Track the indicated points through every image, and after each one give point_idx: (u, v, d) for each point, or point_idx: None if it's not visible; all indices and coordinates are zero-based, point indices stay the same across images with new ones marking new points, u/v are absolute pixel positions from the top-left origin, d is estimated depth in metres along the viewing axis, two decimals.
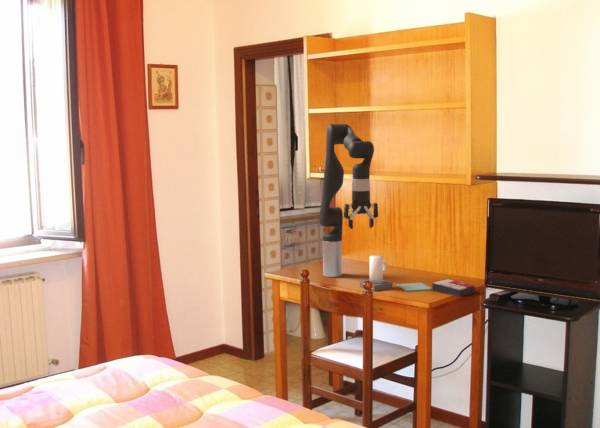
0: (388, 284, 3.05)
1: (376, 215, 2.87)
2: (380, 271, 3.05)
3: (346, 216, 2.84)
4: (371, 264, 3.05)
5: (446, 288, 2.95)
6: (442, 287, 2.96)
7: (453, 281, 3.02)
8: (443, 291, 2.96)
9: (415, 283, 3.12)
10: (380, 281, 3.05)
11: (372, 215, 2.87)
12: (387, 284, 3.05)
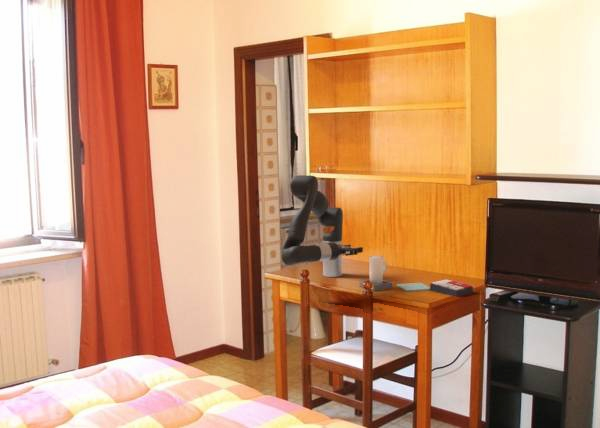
0: (388, 284, 3.05)
1: None
2: (380, 271, 3.05)
3: None
4: (371, 264, 3.05)
5: (443, 288, 2.95)
6: (439, 287, 2.96)
7: (451, 281, 3.02)
8: (440, 291, 2.96)
9: (415, 283, 3.12)
10: (380, 281, 3.05)
11: None
12: (387, 284, 3.05)
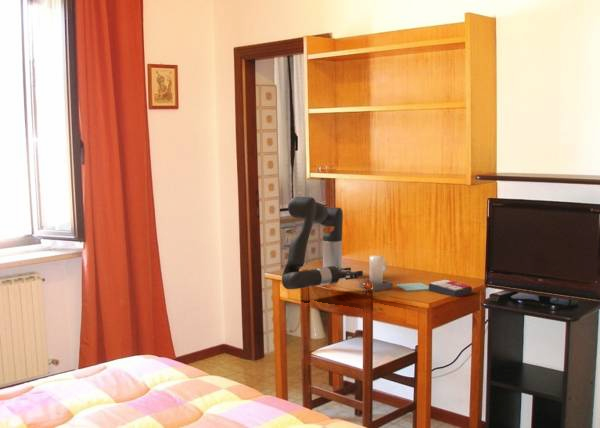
0: (388, 284, 3.05)
1: None
2: (380, 271, 3.05)
3: None
4: (371, 264, 3.05)
5: (442, 288, 2.94)
6: (438, 287, 2.96)
7: (450, 281, 3.01)
8: (439, 291, 2.96)
9: (415, 283, 3.12)
10: (380, 281, 3.05)
11: (353, 277, 2.95)
12: (387, 284, 3.05)
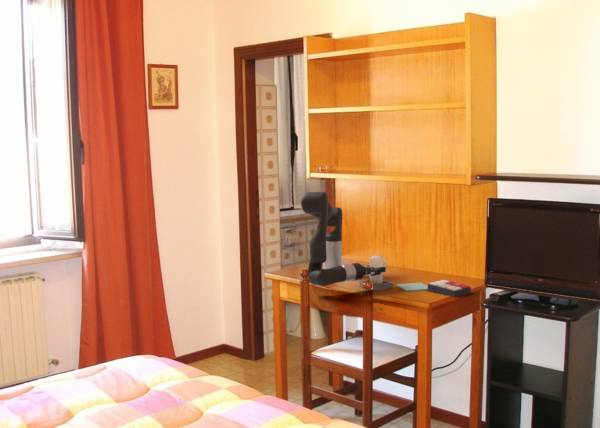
0: (388, 284, 3.05)
1: None
2: None
3: None
4: (371, 264, 3.05)
5: (441, 289, 2.94)
6: (437, 288, 2.95)
7: (449, 282, 3.01)
8: (438, 292, 2.95)
9: (415, 283, 3.12)
10: (380, 281, 3.05)
11: None
12: (387, 284, 3.05)
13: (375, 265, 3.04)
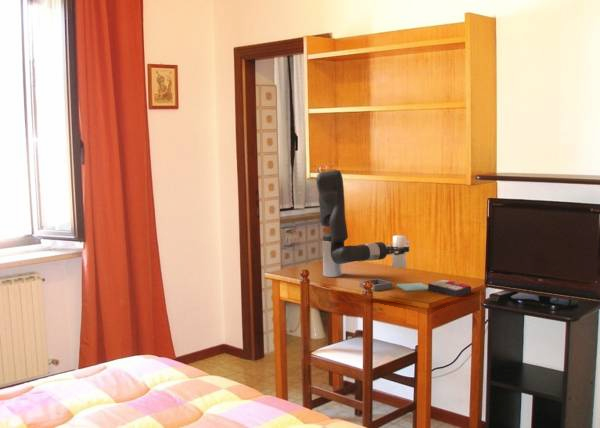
0: (388, 284, 3.05)
1: None
2: None
3: None
4: (394, 244, 3.03)
5: (442, 289, 2.94)
6: (438, 288, 2.96)
7: (449, 281, 3.02)
8: (439, 292, 2.95)
9: (415, 283, 3.12)
10: (403, 261, 3.03)
11: None
12: (387, 284, 3.05)
13: (398, 245, 3.02)
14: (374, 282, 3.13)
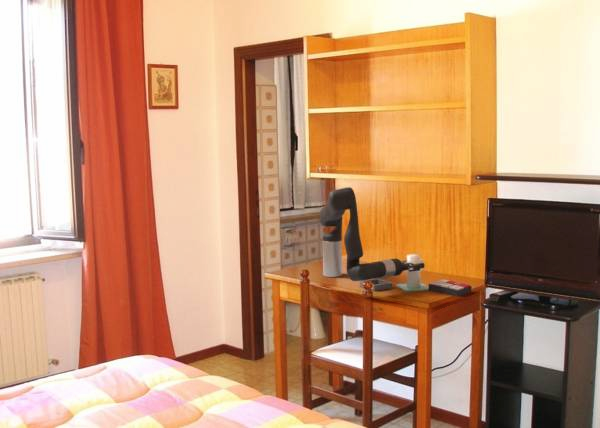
0: (388, 284, 3.05)
1: None
2: None
3: None
4: None
5: (444, 288, 2.94)
6: (439, 287, 2.96)
7: (449, 281, 3.02)
8: (440, 291, 2.96)
9: None
10: (418, 280, 3.04)
11: None
12: (387, 284, 3.05)
13: None
14: (374, 282, 3.13)
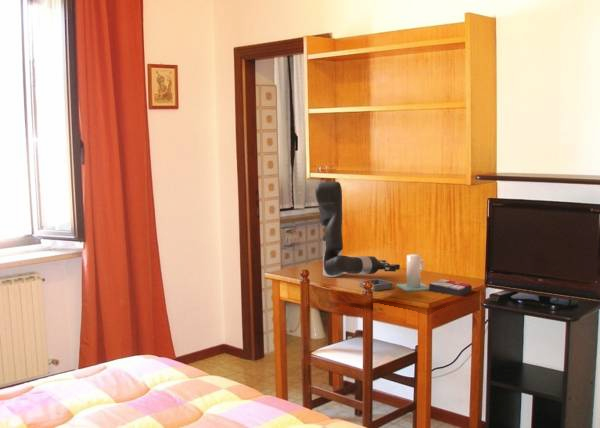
0: (388, 284, 3.05)
1: None
2: (418, 270, 3.03)
3: None
4: (408, 263, 3.04)
5: (445, 288, 2.95)
6: (440, 287, 2.96)
7: (449, 281, 3.03)
8: (441, 291, 2.96)
9: None
10: (418, 280, 3.04)
11: None
12: (387, 284, 3.05)
13: (413, 264, 3.02)
14: (374, 282, 3.13)
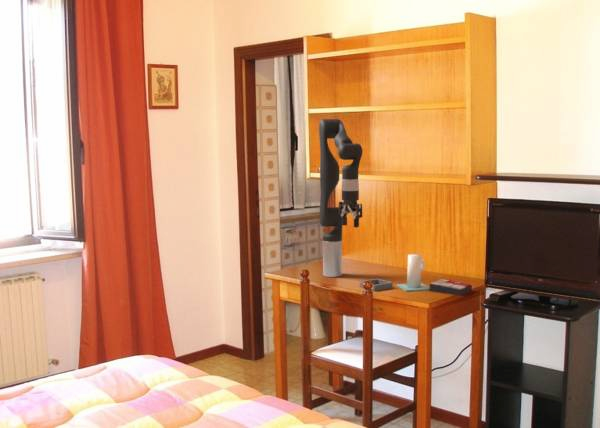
0: (388, 284, 3.05)
1: (356, 215, 2.96)
2: (418, 270, 3.03)
3: (339, 213, 3.06)
4: (409, 263, 3.03)
5: (445, 288, 2.95)
6: (441, 287, 2.96)
7: (448, 281, 3.03)
8: (442, 291, 2.96)
9: None
10: (418, 280, 3.04)
11: (354, 215, 2.97)
12: (387, 284, 3.05)
13: (413, 264, 3.02)
14: (374, 282, 3.13)
